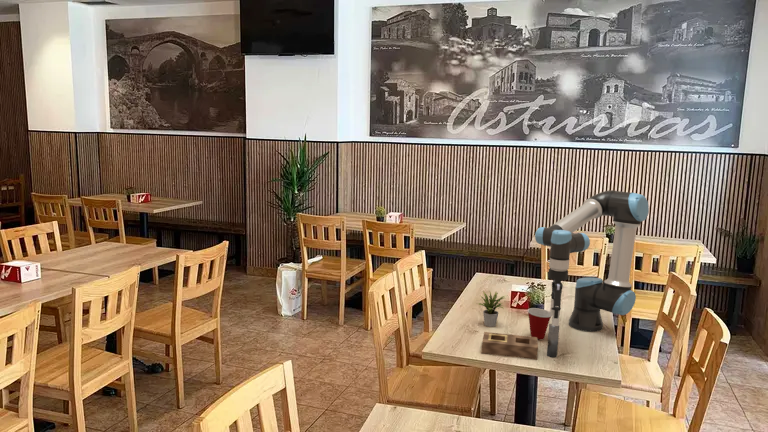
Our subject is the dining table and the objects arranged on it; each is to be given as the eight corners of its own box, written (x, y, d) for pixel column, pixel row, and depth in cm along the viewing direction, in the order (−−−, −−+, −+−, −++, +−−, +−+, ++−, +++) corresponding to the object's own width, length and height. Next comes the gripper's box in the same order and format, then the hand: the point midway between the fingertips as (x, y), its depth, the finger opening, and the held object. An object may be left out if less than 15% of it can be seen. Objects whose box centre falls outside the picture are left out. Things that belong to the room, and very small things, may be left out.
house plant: (506, 332, 271) (508, 297, 268) (475, 329, 273) (477, 294, 271) (506, 322, 285) (508, 288, 282) (476, 319, 287) (478, 286, 285)
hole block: (536, 348, 253) (537, 336, 252) (537, 359, 241) (537, 347, 240) (483, 342, 257) (484, 331, 257) (481, 353, 246) (482, 341, 245)
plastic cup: (551, 343, 260) (553, 316, 258) (526, 340, 262) (527, 314, 260) (549, 334, 270) (551, 308, 268) (525, 332, 272) (527, 306, 270)
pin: (556, 354, 247) (559, 324, 245) (557, 358, 243) (559, 327, 241) (546, 353, 248) (548, 323, 246) (546, 357, 244) (549, 326, 242)
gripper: (547, 261, 252) (543, 310, 256) (550, 275, 228) (545, 329, 232) (566, 263, 251) (561, 312, 254) (570, 277, 227) (565, 331, 230)
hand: (554, 320), depth 243 cm, fingers open, 13 cm apart
